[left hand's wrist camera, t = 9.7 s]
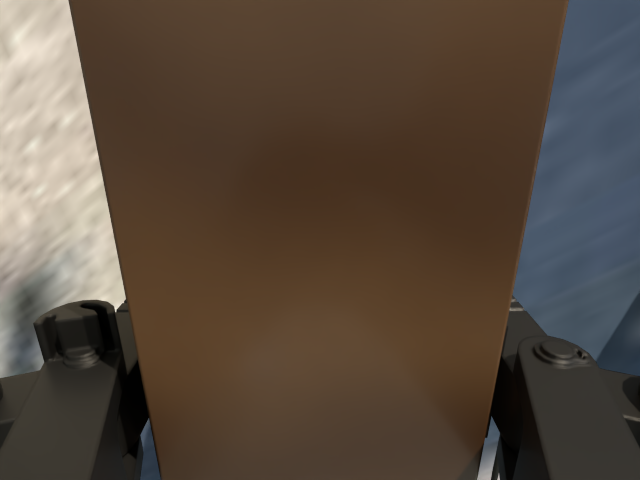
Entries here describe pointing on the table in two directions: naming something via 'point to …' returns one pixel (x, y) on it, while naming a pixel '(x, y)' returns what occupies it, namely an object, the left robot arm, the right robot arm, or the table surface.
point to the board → (318, 221)
